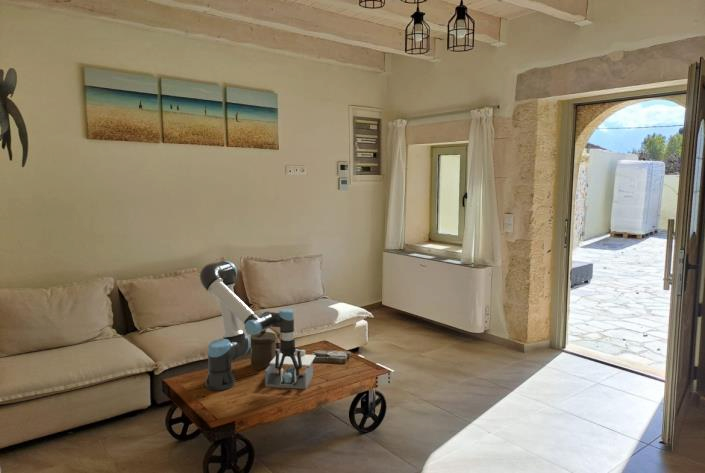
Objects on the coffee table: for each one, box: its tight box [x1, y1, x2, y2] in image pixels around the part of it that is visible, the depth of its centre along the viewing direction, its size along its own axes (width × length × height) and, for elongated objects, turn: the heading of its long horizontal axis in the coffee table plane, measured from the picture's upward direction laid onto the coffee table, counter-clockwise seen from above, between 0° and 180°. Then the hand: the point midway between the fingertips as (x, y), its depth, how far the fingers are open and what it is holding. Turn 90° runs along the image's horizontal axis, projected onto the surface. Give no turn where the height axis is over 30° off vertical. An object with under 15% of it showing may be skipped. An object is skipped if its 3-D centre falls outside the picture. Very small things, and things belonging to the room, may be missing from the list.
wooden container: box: [250, 329, 277, 371], centre depth 281 cm, size 15×15×22 cm
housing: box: [264, 362, 314, 390], centre depth 256 cm, size 22×16×10 cm
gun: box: [310, 349, 352, 364], centre depth 292 cm, size 4×24×15 cm
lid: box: [270, 349, 316, 368], centre depth 263 cm, size 22×15×3 cm
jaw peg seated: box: [285, 366, 295, 379], centre depth 260 cm, size 5×5×6 cm
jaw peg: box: [283, 371, 293, 384], centre depth 252 cm, size 5×5×6 cm
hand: (289, 381), depth 252 cm, fingers open, 7 cm apart
